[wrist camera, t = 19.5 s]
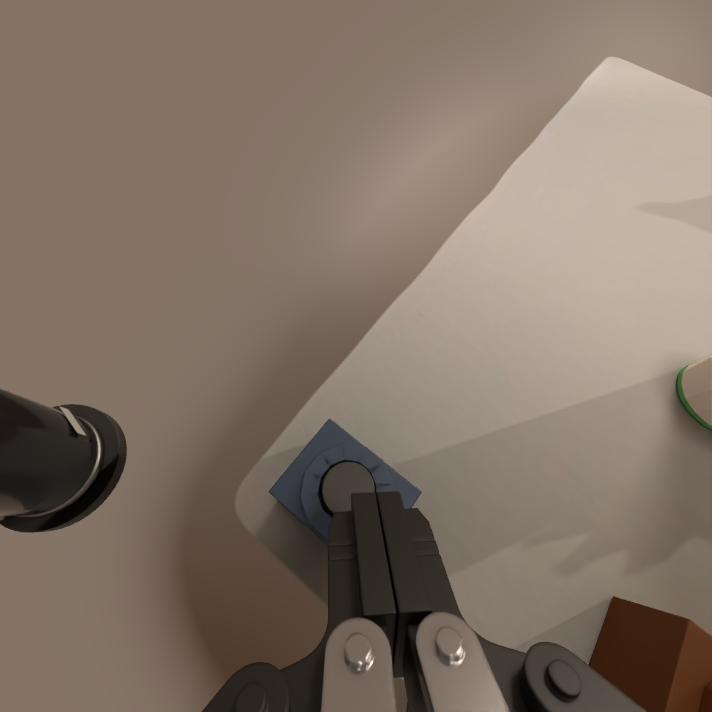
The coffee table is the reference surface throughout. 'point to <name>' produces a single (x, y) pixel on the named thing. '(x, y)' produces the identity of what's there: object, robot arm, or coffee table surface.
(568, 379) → the coffee table surface
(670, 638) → the brown block with collar
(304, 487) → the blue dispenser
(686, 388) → the cup
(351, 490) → the dark grey round cap
